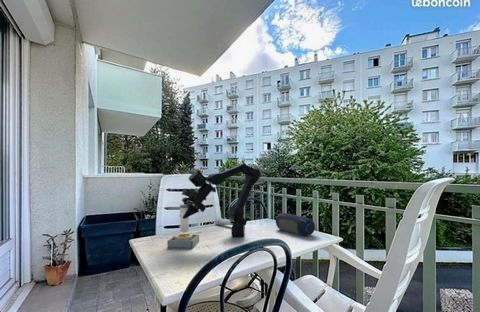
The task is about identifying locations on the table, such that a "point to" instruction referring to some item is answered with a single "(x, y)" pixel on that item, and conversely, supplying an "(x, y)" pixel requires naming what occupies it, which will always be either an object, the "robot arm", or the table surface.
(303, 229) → the portable speaker
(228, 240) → the table surface
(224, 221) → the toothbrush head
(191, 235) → the walled box
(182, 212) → the cream and grey cylinder
